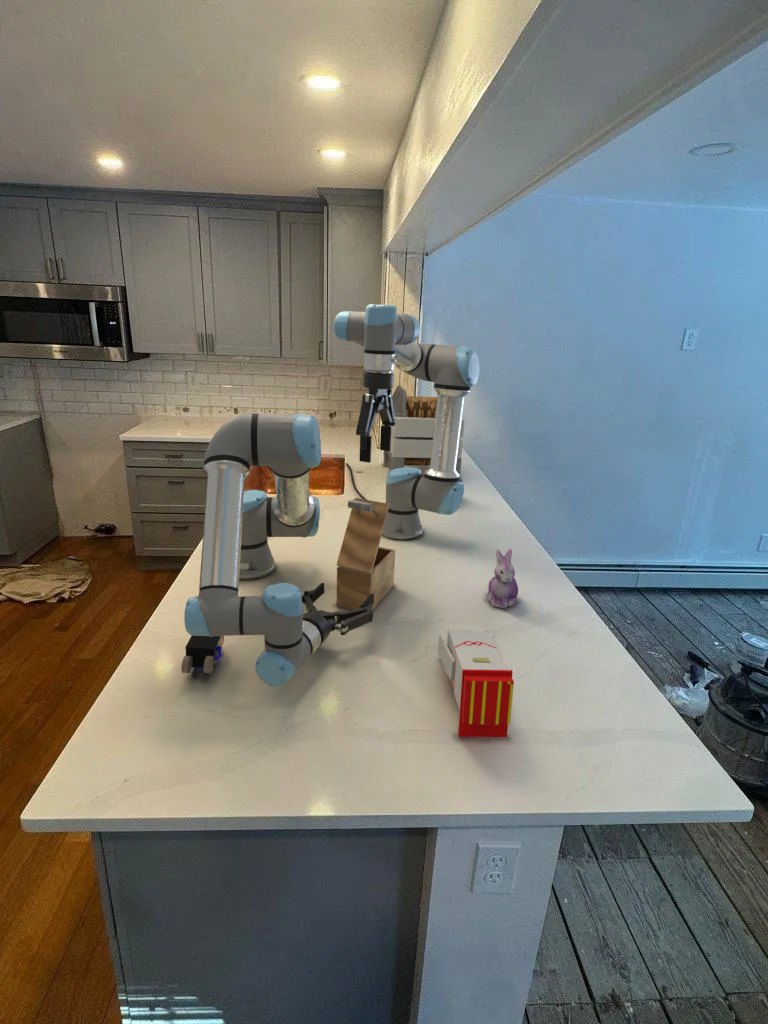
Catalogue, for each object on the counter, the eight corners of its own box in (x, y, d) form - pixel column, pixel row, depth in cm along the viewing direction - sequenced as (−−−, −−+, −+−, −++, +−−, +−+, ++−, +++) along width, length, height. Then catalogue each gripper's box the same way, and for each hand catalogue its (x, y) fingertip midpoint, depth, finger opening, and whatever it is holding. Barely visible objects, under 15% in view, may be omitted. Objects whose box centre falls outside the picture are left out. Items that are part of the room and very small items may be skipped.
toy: (488, 613, 130) (523, 677, 101) (484, 667, 133) (517, 744, 104) (435, 612, 130) (455, 676, 101) (432, 666, 133) (451, 743, 103)
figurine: (500, 612, 150) (506, 561, 145) (477, 595, 159) (482, 546, 153) (527, 605, 154) (535, 555, 149) (504, 589, 163) (510, 541, 158)
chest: (362, 578, 166) (364, 543, 162) (393, 585, 163) (395, 550, 159) (336, 605, 150) (336, 567, 147) (369, 613, 147) (371, 575, 143)
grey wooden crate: (382, 463, 289) (386, 382, 275) (445, 464, 293) (451, 384, 279) (390, 482, 257) (394, 392, 243) (460, 483, 261) (468, 394, 247)
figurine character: (214, 689, 118) (231, 642, 131) (211, 660, 114) (228, 615, 128) (182, 688, 118) (201, 641, 131) (177, 659, 114) (198, 614, 128)
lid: (356, 499, 151) (345, 488, 143) (389, 504, 148) (380, 494, 140) (337, 566, 147) (325, 559, 139) (371, 573, 144) (361, 566, 136)
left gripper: (258, 636, 129) (303, 596, 148) (358, 663, 121) (393, 617, 140) (257, 607, 126) (303, 570, 145) (359, 632, 118) (394, 589, 137)
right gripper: (373, 377, 127) (370, 469, 134) (409, 368, 149) (405, 447, 156) (342, 374, 129) (341, 464, 136) (383, 366, 151) (379, 444, 158)
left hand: (347, 593), depth 142 cm, fingers open, 13 cm apart
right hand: (375, 455), depth 146 cm, fingers open, 13 cm apart
